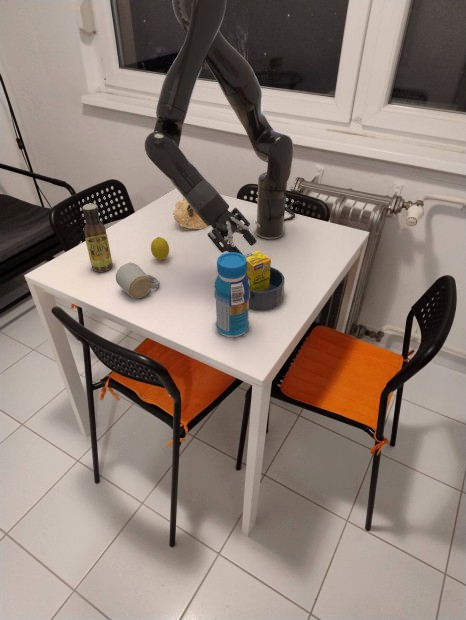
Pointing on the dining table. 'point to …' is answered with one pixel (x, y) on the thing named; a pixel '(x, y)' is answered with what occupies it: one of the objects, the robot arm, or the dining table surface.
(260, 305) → the dark blue bowl
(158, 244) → the lemon
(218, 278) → the beverage bottle
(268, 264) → the supplement box
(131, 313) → the dining table surface
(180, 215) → the tan lumpy rounded piece
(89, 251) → the sauce bottle
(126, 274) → the ceramic mug
